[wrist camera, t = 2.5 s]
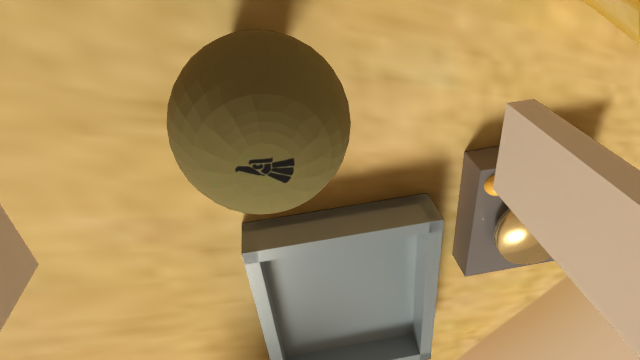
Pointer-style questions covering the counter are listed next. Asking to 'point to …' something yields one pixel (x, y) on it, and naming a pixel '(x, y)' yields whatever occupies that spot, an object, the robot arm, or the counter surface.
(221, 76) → the light bulb
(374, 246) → the tray
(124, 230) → the counter surface
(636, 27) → the plant pot
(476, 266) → the tester
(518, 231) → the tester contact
